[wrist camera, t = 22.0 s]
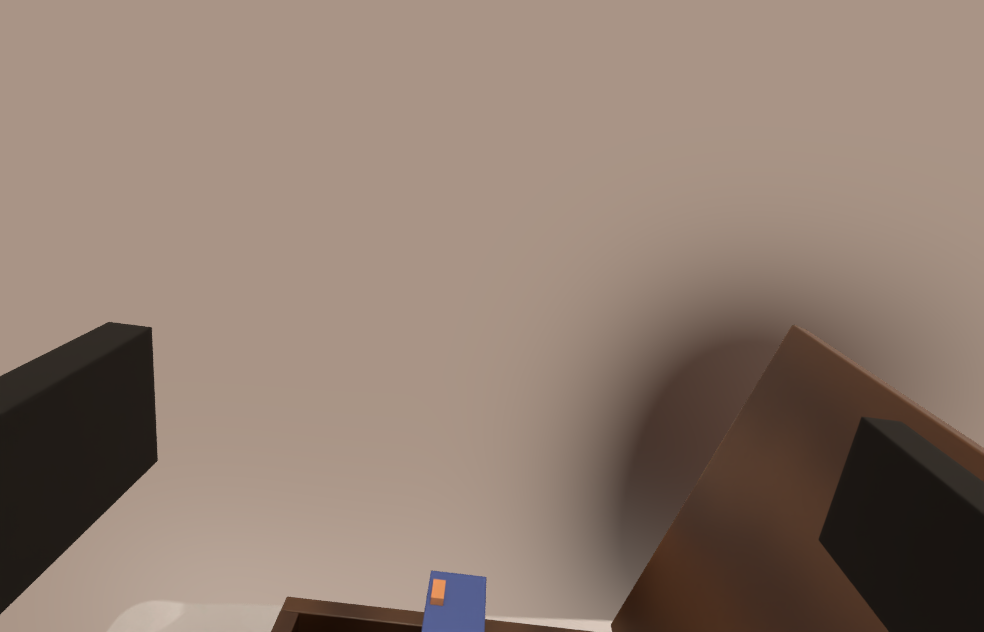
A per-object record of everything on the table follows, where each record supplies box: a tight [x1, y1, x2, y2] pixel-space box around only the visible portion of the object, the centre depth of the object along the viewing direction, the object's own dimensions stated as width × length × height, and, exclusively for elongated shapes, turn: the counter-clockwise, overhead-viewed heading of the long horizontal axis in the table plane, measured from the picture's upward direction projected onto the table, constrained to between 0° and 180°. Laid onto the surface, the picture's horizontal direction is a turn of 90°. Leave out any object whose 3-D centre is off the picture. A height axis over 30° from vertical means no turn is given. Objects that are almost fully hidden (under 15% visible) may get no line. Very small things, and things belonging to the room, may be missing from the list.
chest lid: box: [611, 325, 984, 632], centre depth 24 cm, size 19×13×5 cm
